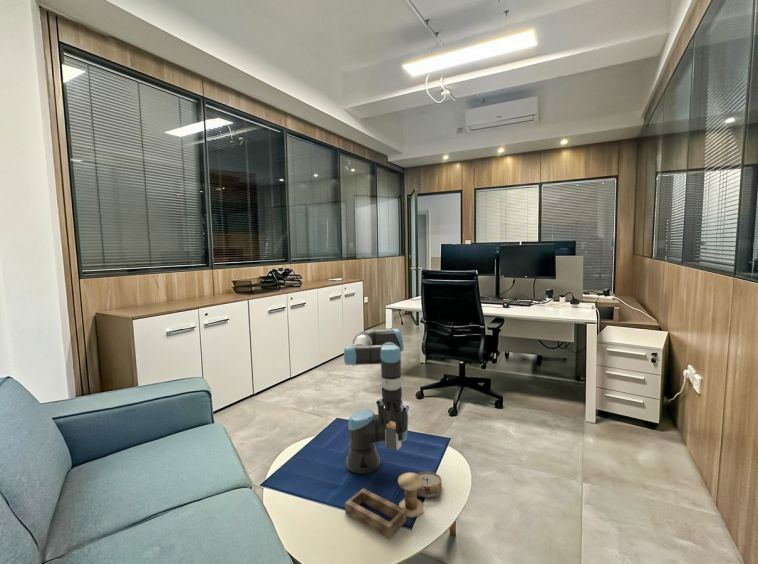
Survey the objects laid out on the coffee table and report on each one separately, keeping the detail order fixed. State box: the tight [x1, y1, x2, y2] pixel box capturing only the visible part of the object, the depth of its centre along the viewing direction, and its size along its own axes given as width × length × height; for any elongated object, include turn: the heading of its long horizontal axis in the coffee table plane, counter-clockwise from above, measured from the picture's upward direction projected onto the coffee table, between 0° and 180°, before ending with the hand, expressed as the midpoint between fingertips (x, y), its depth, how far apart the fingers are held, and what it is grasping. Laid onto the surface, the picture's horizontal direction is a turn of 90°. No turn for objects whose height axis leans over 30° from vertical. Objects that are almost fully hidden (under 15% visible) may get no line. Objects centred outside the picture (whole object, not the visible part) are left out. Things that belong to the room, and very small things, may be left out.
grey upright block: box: [385, 421, 397, 451], centre depth 137 cm, size 4×4×9 cm
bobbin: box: [397, 472, 424, 518], centre depth 132 cm, size 9×9×11 cm
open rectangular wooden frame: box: [344, 488, 407, 539], centre depth 129 cm, size 20×10×4 cm, turn 51°
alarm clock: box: [417, 471, 442, 499], centre depth 142 cm, size 11×5×15 cm
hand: (393, 445), depth 138 cm, fingers closed on grey upright block, 4 cm apart
